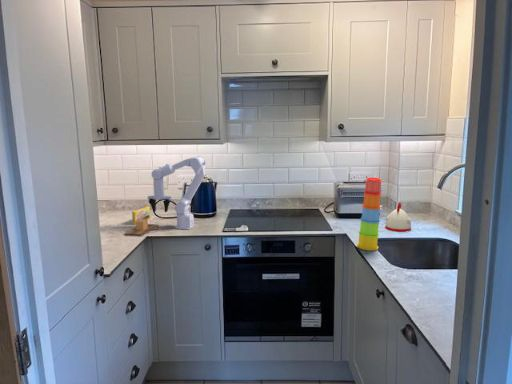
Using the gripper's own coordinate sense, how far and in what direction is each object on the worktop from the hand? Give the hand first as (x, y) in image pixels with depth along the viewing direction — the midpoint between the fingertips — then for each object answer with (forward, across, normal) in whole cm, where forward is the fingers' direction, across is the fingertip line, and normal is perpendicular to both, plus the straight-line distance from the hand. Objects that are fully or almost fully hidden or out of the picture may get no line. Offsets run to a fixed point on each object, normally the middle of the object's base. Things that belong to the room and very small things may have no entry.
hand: (160, 211), depth 224 cm
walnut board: (+9, -7, -10) cm, 15 cm away
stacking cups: (+10, +119, -16) cm, 120 cm away
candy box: (+10, -18, +9) cm, 22 cm away
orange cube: (+8, -7, -10) cm, 15 cm away
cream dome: (+10, +138, +22) cm, 140 cm away
